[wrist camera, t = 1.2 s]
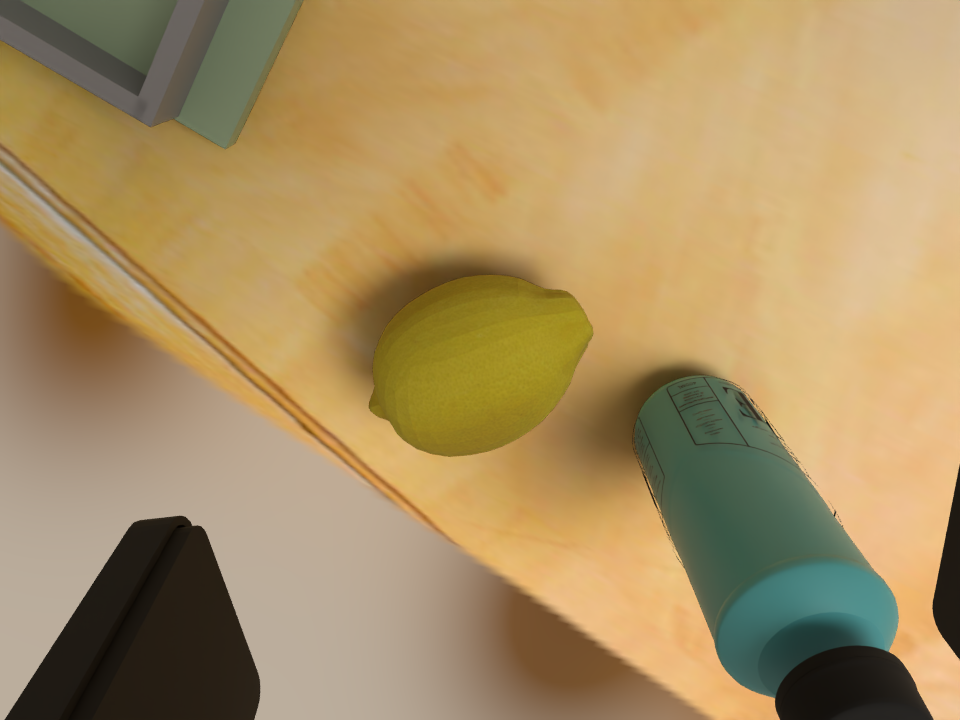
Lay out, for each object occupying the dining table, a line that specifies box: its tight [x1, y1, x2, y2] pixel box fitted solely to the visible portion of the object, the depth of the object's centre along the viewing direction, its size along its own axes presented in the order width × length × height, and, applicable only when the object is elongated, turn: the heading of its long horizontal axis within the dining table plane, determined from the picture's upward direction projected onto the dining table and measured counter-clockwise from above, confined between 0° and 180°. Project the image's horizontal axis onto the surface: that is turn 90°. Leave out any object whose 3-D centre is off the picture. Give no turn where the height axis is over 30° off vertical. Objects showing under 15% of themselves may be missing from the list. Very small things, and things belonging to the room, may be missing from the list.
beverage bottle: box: [632, 375, 933, 720], centre depth 30 cm, size 6×7×20 cm
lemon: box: [369, 275, 593, 457], centre depth 33 cm, size 11×8×8 cm
